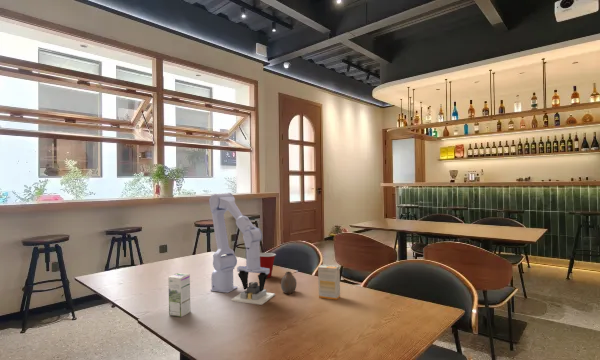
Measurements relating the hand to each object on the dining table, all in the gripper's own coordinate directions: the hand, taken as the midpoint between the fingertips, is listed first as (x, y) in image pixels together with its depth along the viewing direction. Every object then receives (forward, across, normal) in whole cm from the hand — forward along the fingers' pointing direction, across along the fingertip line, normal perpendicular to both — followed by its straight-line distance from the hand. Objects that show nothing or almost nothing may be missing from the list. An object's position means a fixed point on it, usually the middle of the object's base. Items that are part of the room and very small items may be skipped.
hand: (253, 289), depth 142 cm
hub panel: (+3, 0, 0) cm, 3 cm away
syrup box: (+4, -18, -24) cm, 30 cm away
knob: (+3, 0, 0) cm, 3 cm away
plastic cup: (+4, -10, +31) cm, 33 cm away
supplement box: (+4, +30, +11) cm, 32 cm away
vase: (+4, +11, +12) cm, 17 cm away
